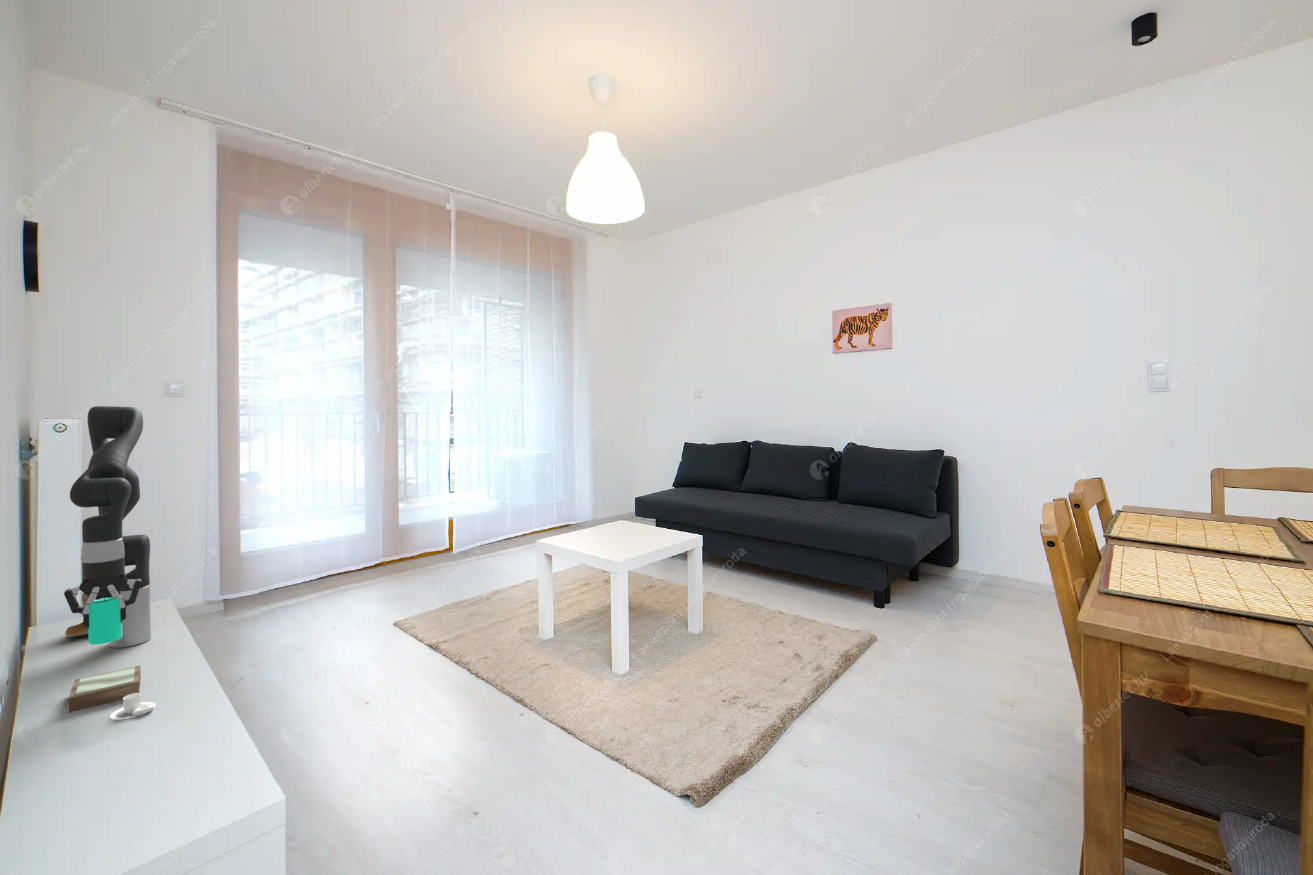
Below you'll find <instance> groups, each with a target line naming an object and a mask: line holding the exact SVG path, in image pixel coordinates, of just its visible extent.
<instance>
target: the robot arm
mask: <svg viewBox="0 0 1313 875" xmlns="http://www.w3.org/2000/svg"><path fill="white" fill-rule="evenodd" d="M87 412H88V413H87V420H86V421H87V427H88V428H87V429H88V434H89V440H90V446H91V450H92V454H91V457H90V460H89V462H88V467H87V469H86V470H85V471H84V472H83V474H81V475H80V476H79V477H78V478H77V479H76V480H75V481H74V482H73V484H72V486H71V487H70V490H69V499H70V501H71V502H72V504H74V505H75V506H76V507H79V508H96V507H97V508H98V509H97V510H98V515H94V516H89V517H87V518H85V519H83V520H82V525H81V531H82V532H81V533H82V534H81V536H82V539H81V540H82V545H81V552H80V554H81V555H80V560H81V583H80V585H78V586H75V587H73V588H71V587H69V588H67V589H65V591H64V592H63V595H64V598H65V599H66V602H67V604H68V606H69V609H70V611H71V613H72V614H82V618H83V619H82V622H83V625H84V627H86V626H87V628H89V614H88V613H89V605H90V603H94V601H95V600H98V599H102V598H111V597H113V598H118V600H120V608H121V609H120V618H121V623H122V638H120V639H118V640H116V641H112V642H109V648H115V649H117V648H119V649H120V648H127V647H132V646H137V645H140V644H143V643H145V642H148V641H149V640H151V639H152V625H151V624H152V622H151V620H152V618H151V617H152V615H151V614H152V613H151V585H150V584H151V581H150V556H151V542H150V538H149V536H148V535H147V534H131V535H123V521H124V519H125V518H126V517H127V516H128V515H129V513H131V511H132V510H133V509H134V508H135V507H136V505H137V504H138V502H139V501H140V498H141V488H140V478H139V476H138V474H137V473H136V471H135V470H134V469H133V468H131V466H130V465H128V462H129V459H130V456H131V454H132V452H133V450H134V448H136V445H137V443H138V441H139V440H140V437H141V435H142V433H143V430H144V429H143V428H144V417H143V412H142V411H141V410H140V409H139V408H137V407H134V406H112V405H111V406H110V405H107V406H106V405H105V406H104V405H100V406H99V405H98V406H92V407H91V408H89V410H88V411H87ZM109 439H111V440H110V441H109ZM130 566H135V568H133V569H131V571H129V572H127V573H126V568H125V567H130ZM80 591H81V592H82V594H83V593H85V594H86V595H87V596H89V598H88V600H87V603H86V605H85V607H83V606H80V604H79V602H78V599H77V597H78V595H79V592H80Z"/></svg>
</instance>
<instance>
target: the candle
mask: <svg viewBox="0 0 1313 875" xmlns="http://www.w3.org/2000/svg"><path fill="white" fill-rule="evenodd" d="M120 609H121V608H120V600H118V598H113V597H111V598H102V599H98V600H95V601H94V603H90V605H89V613H88V614H89V628H88V636H87V637H88V645H89V644H90V645H92V646H93V645H102V644H110V642H112V641H116V640H118V639H120V638H122V623H121V618H120Z"/></svg>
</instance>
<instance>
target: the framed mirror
mask: <svg viewBox="0 0 1313 875" xmlns="http://www.w3.org/2000/svg"><path fill="white" fill-rule="evenodd" d="M141 675H142V674H141V665H137V666H132V667H128V668H122V669H119V670H114V671H109V672H105V673H101V674H95V675H91V676H87V677H83V678H77V679H74V681H73V684H72V687H71V690H70V693H69V696H68V713H69V712H70V713H73V711H74V712H77V710H78V711H82V710H85V708H86V709H89V708H90V709H91V708H93V707H98V706H102V705H106V704H110V703H114V702H118V701H123V697H125V696H127V695H129V694H133V693H140V689H141V678H142V677H141ZM81 709H82V710H81Z"/></svg>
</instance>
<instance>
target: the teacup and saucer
mask: <svg viewBox="0 0 1313 875" xmlns="http://www.w3.org/2000/svg"><path fill="white" fill-rule="evenodd" d="M141 700H142V692H139V693H133V694H129V695H127V696H125V697H123V700H122V704H123V707H119V708H118V709H115V711H113V712H112V713H110V715H108V716H109V719H110V720H112V721H122V720H129V719H132V718H137V717H140V716H142V715H144V714H147V713H149V712H151V711H152V710H153V709H155V707H156V705H157V703H156V702H153V701H141ZM123 710H124V712H125V714H132V715H131V716H127V717H126V716H125V717H120V716H119V717H118V716H117V714H118V713H120V712H122V711H123Z"/></svg>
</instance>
